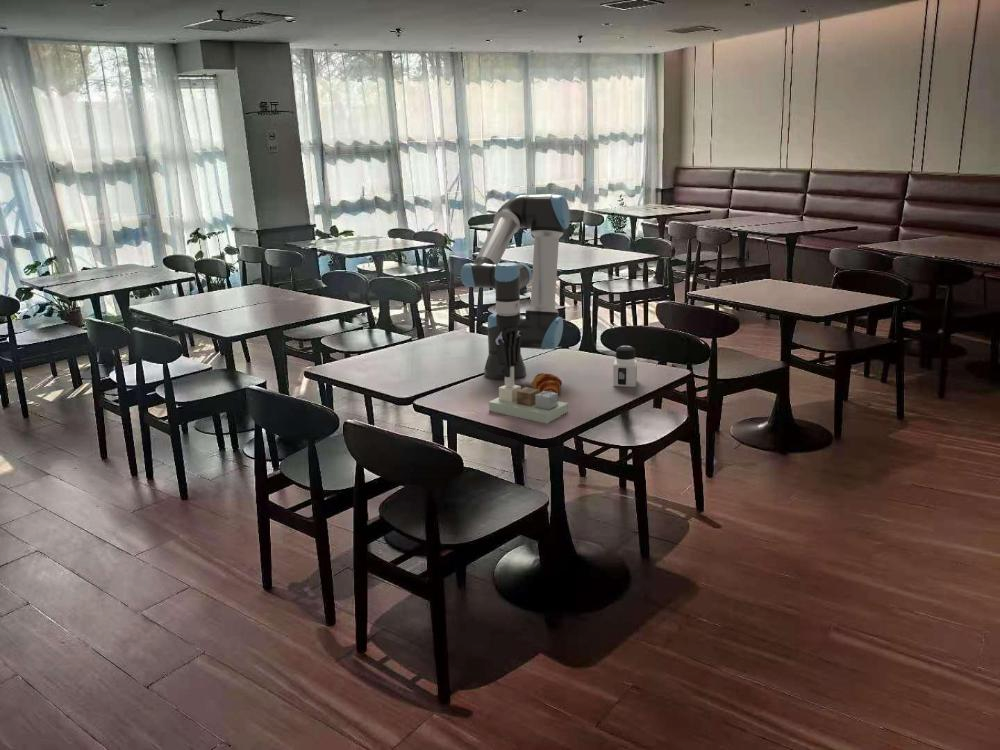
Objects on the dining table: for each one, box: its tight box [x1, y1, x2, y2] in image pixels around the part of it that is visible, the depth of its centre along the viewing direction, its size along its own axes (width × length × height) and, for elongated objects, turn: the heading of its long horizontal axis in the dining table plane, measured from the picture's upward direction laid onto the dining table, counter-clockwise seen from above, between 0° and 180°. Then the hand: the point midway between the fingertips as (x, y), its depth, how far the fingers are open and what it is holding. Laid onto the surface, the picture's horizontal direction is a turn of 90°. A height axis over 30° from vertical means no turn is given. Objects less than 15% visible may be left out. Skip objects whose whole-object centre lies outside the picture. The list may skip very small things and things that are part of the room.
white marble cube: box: [535, 391, 559, 411], centre depth 250 cm, size 5×5×5 cm
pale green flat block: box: [488, 396, 569, 424], centre depth 255 cm, size 22×12×3 cm, turn 54°
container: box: [612, 345, 638, 388], centre depth 279 cm, size 8×8×13 cm
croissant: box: [531, 372, 563, 394], centre depth 274 cm, size 21×10×8 cm, turn 5°
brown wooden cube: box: [517, 386, 539, 407], centre depth 254 cm, size 5×5×5 cm
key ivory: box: [498, 384, 522, 403], centre depth 258 cm, size 5×5×5 cm
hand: (509, 385), depth 257 cm, fingers closed
